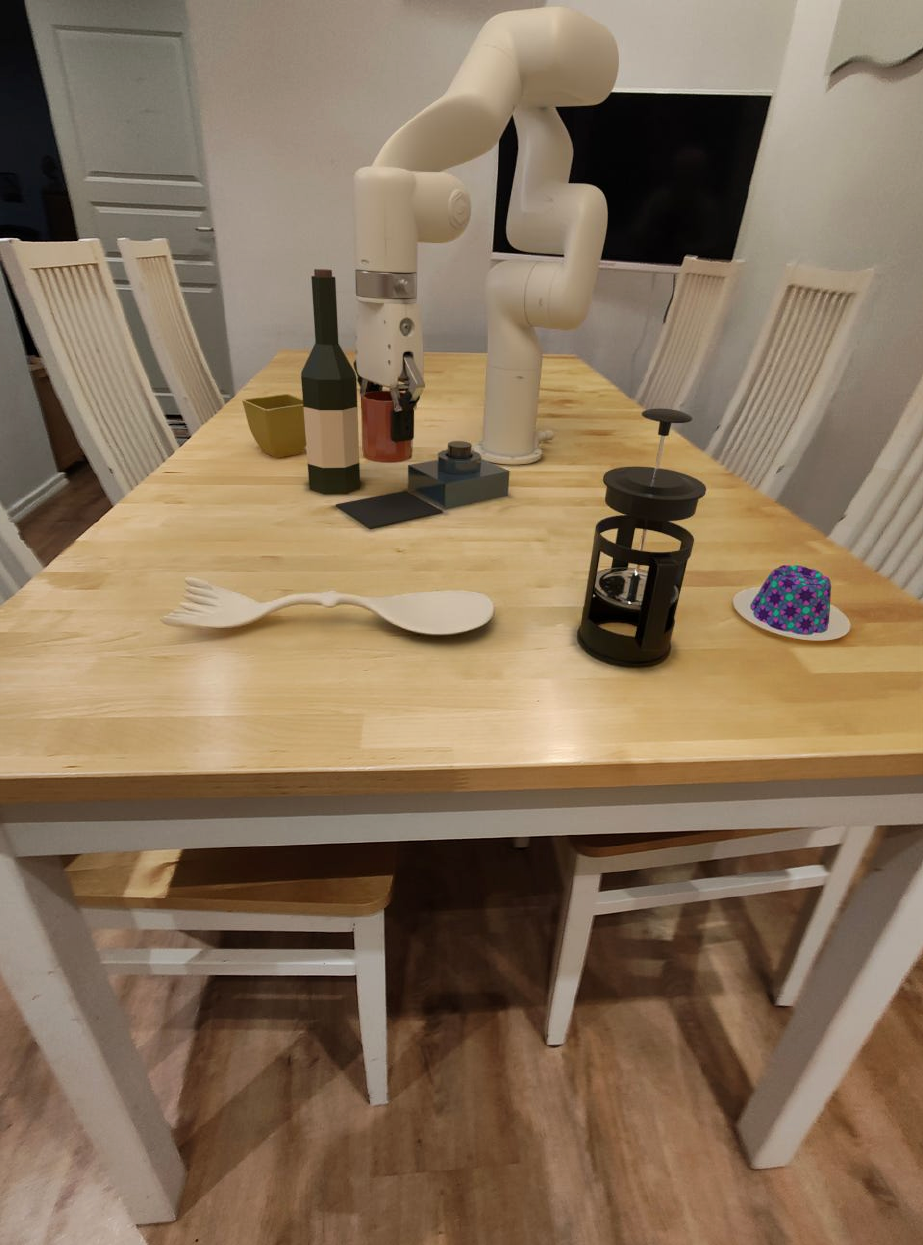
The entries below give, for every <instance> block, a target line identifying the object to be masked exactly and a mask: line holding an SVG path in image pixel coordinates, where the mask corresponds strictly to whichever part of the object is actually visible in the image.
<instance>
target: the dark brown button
mask: <svg viewBox="0 0 923 1245" xmlns="http://www.w3.org/2000/svg"><path fill="white" fill-rule="evenodd" d="M472 446H473V444H472V443H471V442H468V441H466V440H465V441H463V440H452V441H448V443H447V450H448V452H447V457H449V458H453V459H468V458H471V451H473V447H472Z"/></svg>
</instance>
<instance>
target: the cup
mask: <svg viewBox="0 0 923 1245" xmlns="http://www.w3.org/2000/svg"><path fill="white" fill-rule="evenodd" d="M404 393H405V391H399V394H400V399H401V398H402V396H403V395H404ZM391 410H395V409H394V405H393V401H392V397H391V392H390V390H382V391H370V392H366V393H363V394H362V395H361V396H360V416H361V418H360V419H361V421H360V422H361V451H362V457H363V458H364V459H365V460H368V461H370V462H375V463H381V464H382V463H384V464H386V463H387V464H394V463H395V464H396V463H402V462H406V461H409V460H411V459H412V457H413V453H414V452H413V451H414V439H413V440H408V441H401V442H394V441H392V440H391Z"/></svg>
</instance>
